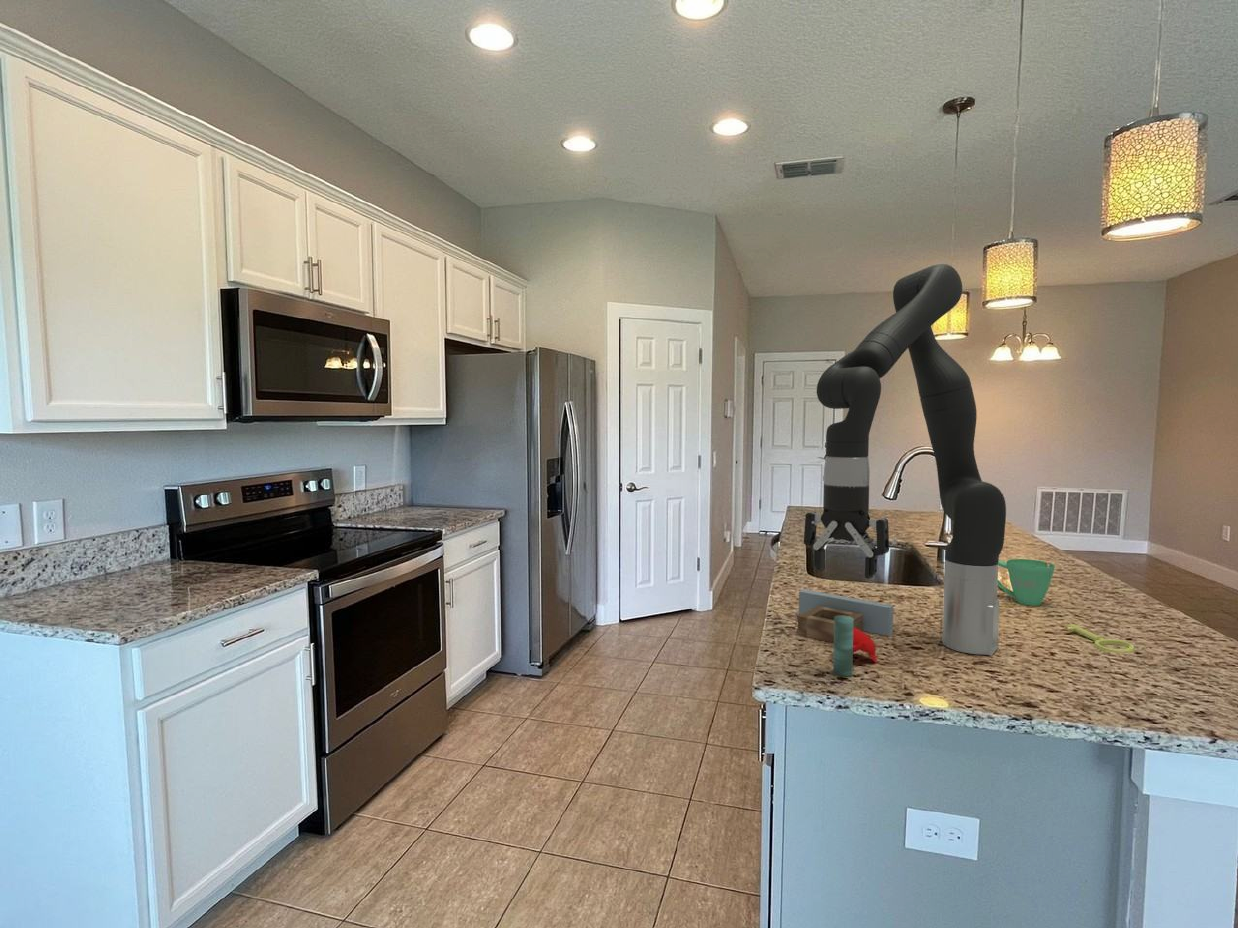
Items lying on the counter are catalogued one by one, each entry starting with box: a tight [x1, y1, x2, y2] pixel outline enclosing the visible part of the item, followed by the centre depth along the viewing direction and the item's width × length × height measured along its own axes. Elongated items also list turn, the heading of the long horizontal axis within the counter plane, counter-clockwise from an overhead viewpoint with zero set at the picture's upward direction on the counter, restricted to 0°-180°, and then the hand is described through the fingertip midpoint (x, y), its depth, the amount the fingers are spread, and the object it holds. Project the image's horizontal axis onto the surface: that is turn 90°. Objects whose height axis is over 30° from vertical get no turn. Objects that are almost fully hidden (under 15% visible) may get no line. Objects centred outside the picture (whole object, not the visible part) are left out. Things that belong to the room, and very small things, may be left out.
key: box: [1063, 623, 1136, 654], centre depth 125 cm, size 7×12×2 cm, turn 27°
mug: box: [997, 558, 1056, 607], centre depth 155 cm, size 15×10×10 cm
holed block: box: [797, 605, 864, 644], centre depth 131 cm, size 10×10×4 cm
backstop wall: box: [798, 589, 894, 637], centre depth 137 cm, size 20×2×6 cm, turn 49°
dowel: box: [832, 615, 854, 678], centre depth 110 cm, size 3×3×10 cm
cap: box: [853, 628, 878, 663], centre depth 117 cm, size 8×6×6 cm
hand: (844, 573), depth 109 cm, fingers open, 8 cm apart
